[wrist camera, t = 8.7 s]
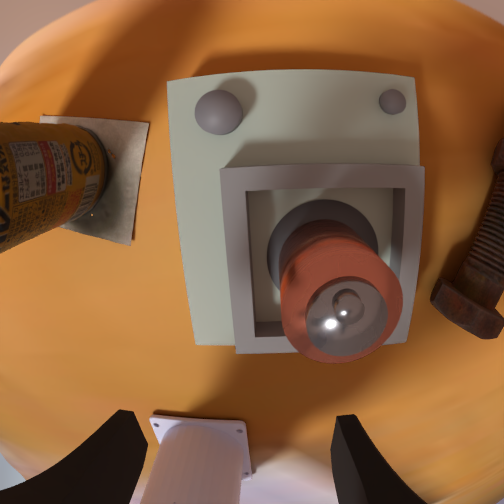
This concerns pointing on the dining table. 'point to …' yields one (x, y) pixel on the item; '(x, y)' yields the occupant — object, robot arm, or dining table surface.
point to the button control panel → (288, 186)
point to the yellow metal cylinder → (69, 177)
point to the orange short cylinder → (336, 293)
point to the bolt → (479, 271)
